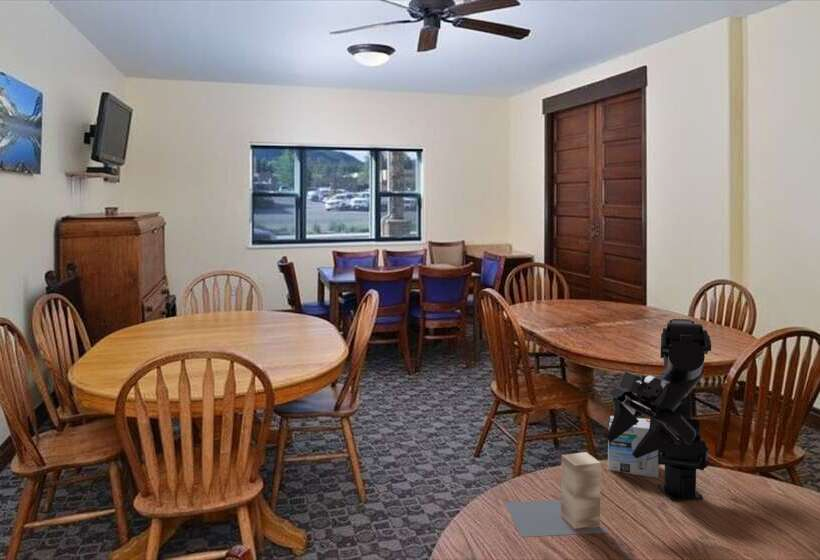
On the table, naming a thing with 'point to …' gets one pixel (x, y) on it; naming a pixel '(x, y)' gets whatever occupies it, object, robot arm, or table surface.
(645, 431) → the light bulb box
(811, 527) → the table surface
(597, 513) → the beech block
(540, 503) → the slate mat
